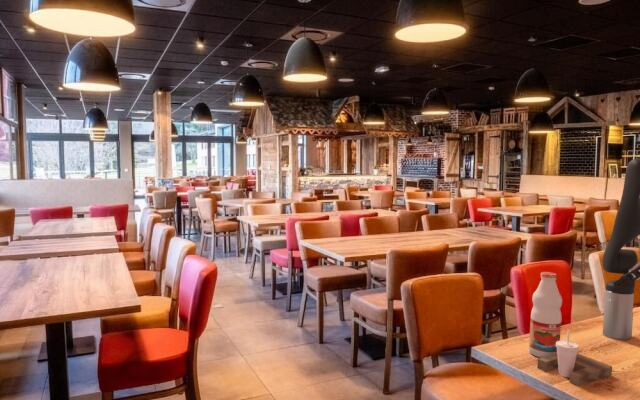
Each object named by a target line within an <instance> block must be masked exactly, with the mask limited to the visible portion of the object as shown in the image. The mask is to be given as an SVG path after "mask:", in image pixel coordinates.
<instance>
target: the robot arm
mask: <svg viewBox="0 0 640 400" xmlns="http://www.w3.org/2000/svg"><path fill="white" fill-rule="evenodd" d="M627 164H628V165H627V167H626V171H625V175H624V184H623V189H622V193H621V199H620V201H619V205H618V209H617V211H616V215H615V219H614V223H613V227H612V231H611V234H610V238H609V240H608V243H607V245H606V248H605V249H604V253H603V256H602V260H601V261H602V262H601V264H602V269H603V270H604V271H605V272H606V273H610V274H620V275H622V276H620V277H619V278H617V279H613V280H608V281H607V282H606V283H605V292H604V305H603V306H604V307H603V321H602V322H603V324H602V335H604V336H605V337H608V338H610V339H614V340H615V339H616V340H623V341H626V340H630V339H631V338H632V336H633V323H634V322H633V321H634V311H633V310H634V296H635V295H634V294H635V287H636V280H637V281H638V280H640V261H639V259H638V254H637V252H636V251H635V250H633V249H624V248H623V247H625V246H626V245H627V244H629V243H630V242H632V241H633V240H635V239H637V238H638V237H639V236H640V157H638V158H634V159H632V160H630V161H629V162H628V163H627Z"/></svg>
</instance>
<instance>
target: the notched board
mask: <svg viewBox="0 0 640 400" xmlns="http://www.w3.org/2000/svg"><path fill="white" fill-rule="evenodd" d="M536 365H537V366H536V367H537V369H539V370H541V371H543V372H547V371H551V370H555V369H558V356H557V354H555V355H551V356H547V357H543V358H540V357H538V358H537V364H536ZM612 375H613V366H612V365H609V364H607V363H604V362H602V361H598V360H596V359H594V358H591V357H588V356H586V355H583V354H581V353H578V352H577V355H576V360H575V365H574V370H573V372H570V377H569V384H573V385H575V386H577V387H580V386H584V385H586V384H587V385H588V384H589V383H593V382H597V381H599V380H603V379H607V378H610V377H612Z"/></svg>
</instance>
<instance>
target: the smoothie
mask: <svg viewBox="0 0 640 400" xmlns="http://www.w3.org/2000/svg"><path fill="white" fill-rule="evenodd" d="M566 333H567V334H566V340H560V341H557V342H556V347H557V356H558V368H557V369H558V375H559V376H560V377H563V378H570V372H573V370H574V365H575V360H576V355H577V353H578V351H579V350H580V348H579V347H580V346H579V344H578V343H576V342H572V341H570V330H567V331H566Z"/></svg>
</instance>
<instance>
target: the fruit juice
mask: <svg viewBox="0 0 640 400" xmlns="http://www.w3.org/2000/svg"><path fill="white" fill-rule="evenodd" d="M540 278H541V280H540V281H539V284H538V286H537V288H536V290H535V291H533V294H532V299H531V300H532V304H533V306H532V309H531V312H530V324H529V325H530V326H529V341H528V342H529V343H528V350H529V353H530V354H531V355H533V356H534V357H537V358H543V357H547V356H551V355H555V354H557V347H556V342H557V341H561V332H562V330H561V328H562V312H561V307H562V304H563V298H562V295H561V294H560V292H559V289H558V285H557V281H556V280H557V273H555V272H550V271H542V272H540Z"/></svg>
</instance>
